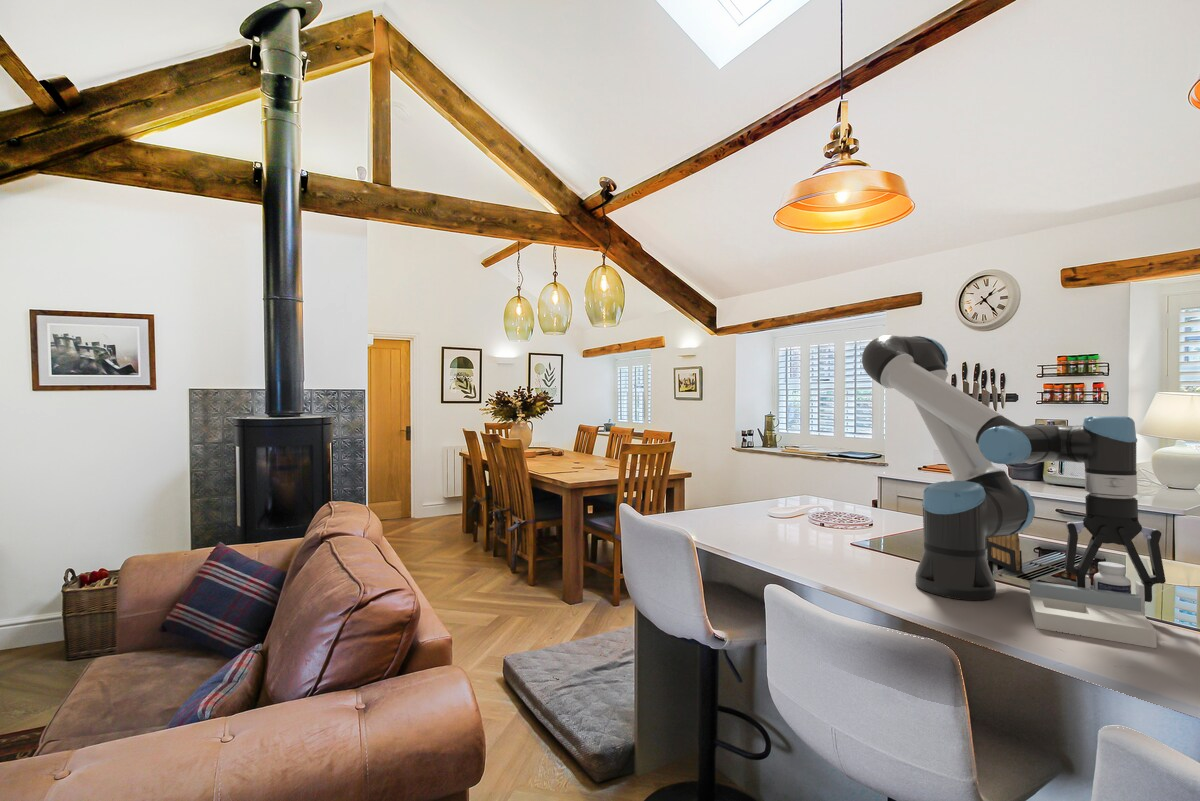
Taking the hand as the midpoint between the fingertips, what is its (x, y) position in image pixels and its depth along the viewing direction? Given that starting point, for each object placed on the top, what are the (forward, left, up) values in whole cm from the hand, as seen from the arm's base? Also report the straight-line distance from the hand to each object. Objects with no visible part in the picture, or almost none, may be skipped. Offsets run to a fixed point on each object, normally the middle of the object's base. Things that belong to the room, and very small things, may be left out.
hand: (1113, 613), depth 109 cm
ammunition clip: (-16, +30, 0) cm, 34 cm away
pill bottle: (0, 0, 0) cm, 0 cm away
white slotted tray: (-5, -10, 0) cm, 11 cm away
